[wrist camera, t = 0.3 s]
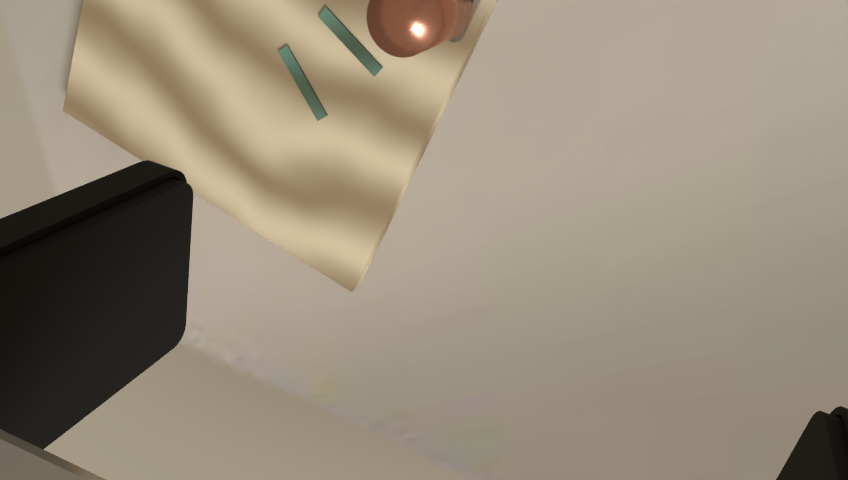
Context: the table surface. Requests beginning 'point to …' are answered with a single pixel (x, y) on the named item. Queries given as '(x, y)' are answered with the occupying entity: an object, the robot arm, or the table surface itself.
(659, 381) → the table surface
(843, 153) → the table surface
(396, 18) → the lever
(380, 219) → the board
